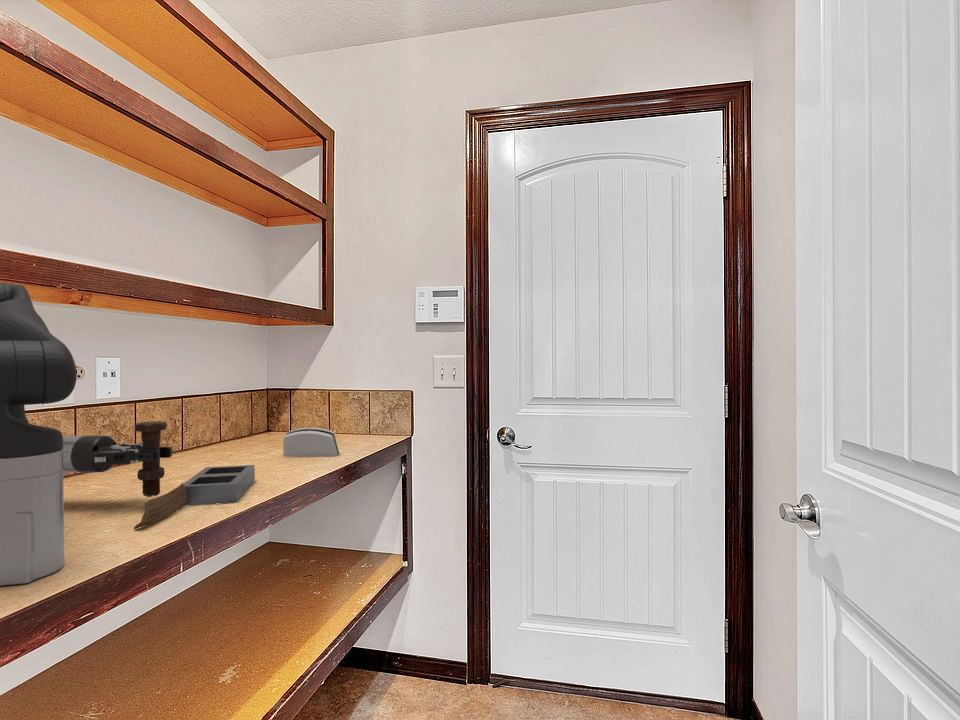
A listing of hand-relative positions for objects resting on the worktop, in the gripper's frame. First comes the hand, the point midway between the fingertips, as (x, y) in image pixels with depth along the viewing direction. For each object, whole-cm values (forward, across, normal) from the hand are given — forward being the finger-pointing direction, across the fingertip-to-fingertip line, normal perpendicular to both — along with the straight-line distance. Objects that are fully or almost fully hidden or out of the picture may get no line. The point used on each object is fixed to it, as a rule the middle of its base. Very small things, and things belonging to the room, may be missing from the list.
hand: (164, 453), depth 108 cm
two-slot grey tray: (+5, +12, +11) cm, 17 cm away
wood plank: (+4, -7, +11) cm, 14 cm away
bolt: (-3, 0, +9) cm, 9 cm away
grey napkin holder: (+10, +56, +11) cm, 58 cm away
